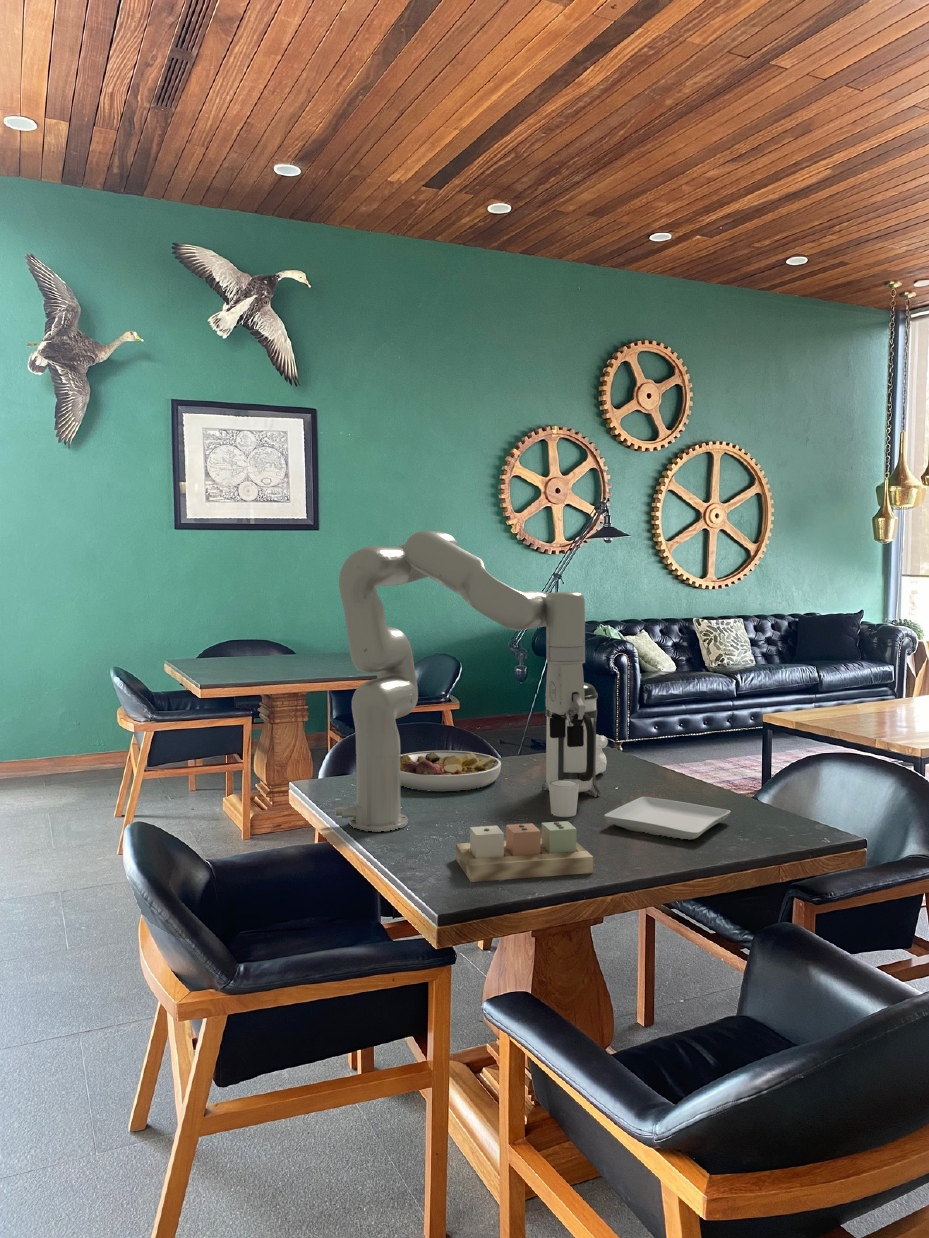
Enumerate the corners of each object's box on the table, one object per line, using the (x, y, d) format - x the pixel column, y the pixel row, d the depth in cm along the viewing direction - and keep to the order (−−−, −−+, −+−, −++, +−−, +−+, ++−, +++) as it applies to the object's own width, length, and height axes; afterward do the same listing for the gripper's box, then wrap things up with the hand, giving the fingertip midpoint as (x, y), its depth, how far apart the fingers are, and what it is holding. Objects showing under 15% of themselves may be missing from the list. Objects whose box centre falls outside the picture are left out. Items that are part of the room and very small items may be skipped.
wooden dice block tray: (470, 881, 166) (470, 865, 166) (455, 859, 179) (455, 843, 179) (593, 872, 171) (593, 856, 171) (570, 851, 184) (570, 836, 183)
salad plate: (732, 823, 204) (732, 808, 204) (697, 848, 187) (698, 831, 187) (642, 809, 216) (642, 794, 216) (601, 830, 199) (601, 815, 199)
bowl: (410, 765, 262) (410, 737, 262) (513, 772, 253) (514, 744, 252) (366, 790, 234) (366, 759, 233) (481, 799, 224) (481, 767, 224)
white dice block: (476, 862, 170) (476, 834, 170) (469, 853, 175) (469, 826, 175) (503, 860, 171) (503, 832, 171) (496, 851, 176) (496, 824, 176)
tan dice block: (513, 859, 172) (513, 831, 171) (505, 850, 177) (506, 823, 176) (540, 857, 173) (540, 829, 172) (532, 849, 178) (532, 822, 178)
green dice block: (549, 856, 173) (549, 829, 173) (541, 848, 178) (541, 821, 178) (576, 855, 174) (576, 827, 174) (567, 846, 179) (567, 820, 179)
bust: (603, 785, 246) (627, 750, 247) (582, 769, 244) (607, 734, 245) (585, 775, 258) (608, 742, 259) (565, 760, 256) (588, 726, 257)
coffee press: (526, 796, 227) (527, 673, 225) (557, 783, 240) (558, 667, 238) (591, 806, 217) (592, 678, 215) (620, 792, 230) (621, 671, 228)
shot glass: (577, 818, 207) (577, 787, 207) (546, 816, 208) (546, 785, 208) (580, 810, 214) (580, 780, 213) (550, 808, 215) (550, 778, 215)
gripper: (533, 652, 190) (534, 735, 191) (563, 660, 173) (563, 751, 174) (568, 650, 192) (568, 733, 193) (600, 658, 175) (601, 748, 176)
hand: (566, 741), depth 183 cm, fingers open, 9 cm apart
